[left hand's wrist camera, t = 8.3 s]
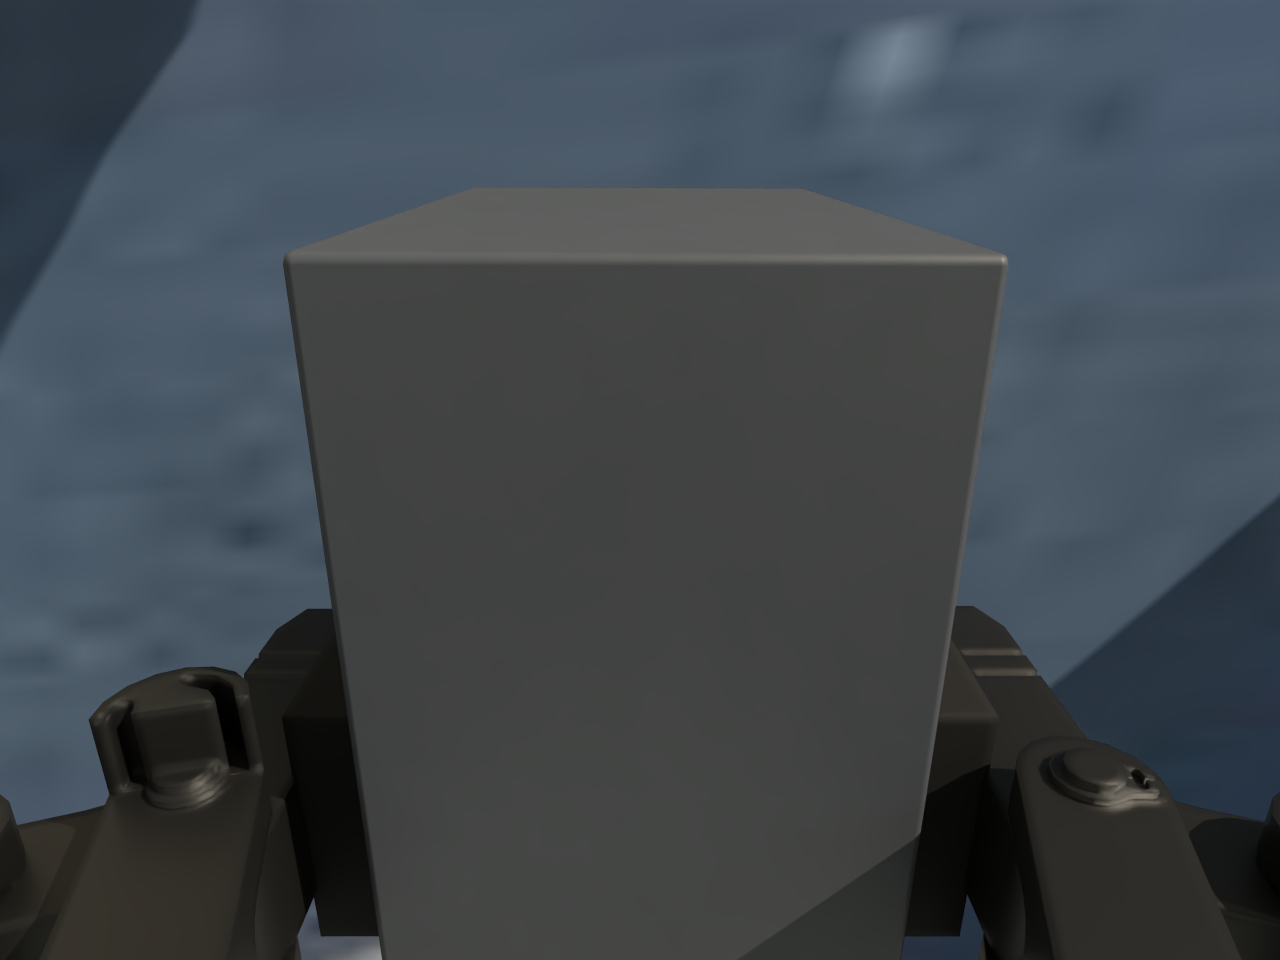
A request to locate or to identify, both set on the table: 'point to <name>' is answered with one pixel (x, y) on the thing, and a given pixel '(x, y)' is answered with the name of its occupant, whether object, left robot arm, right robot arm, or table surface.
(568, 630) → the beam
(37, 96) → the table surface
